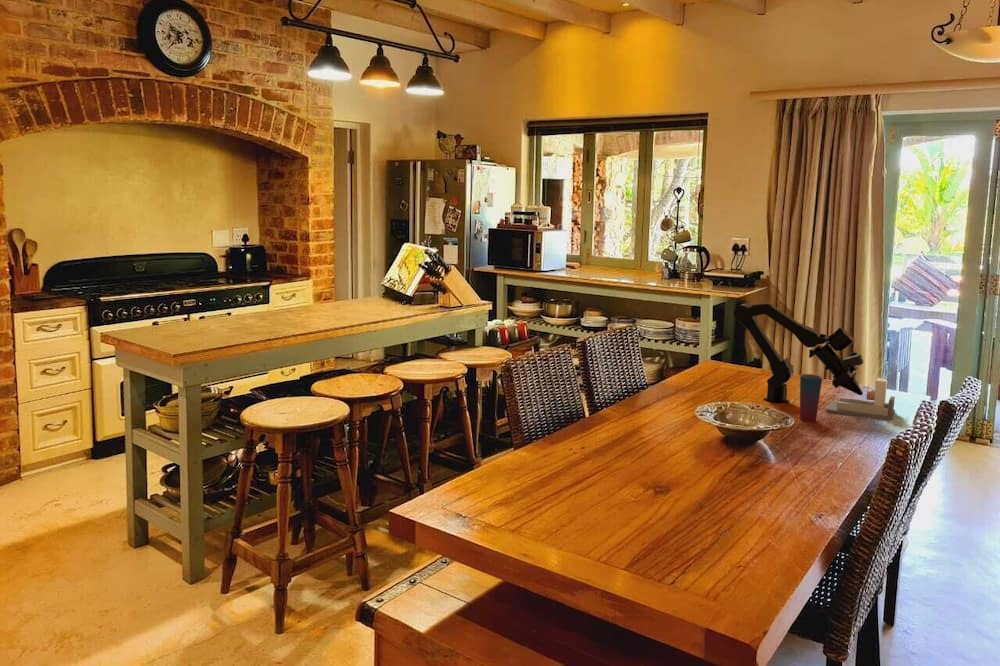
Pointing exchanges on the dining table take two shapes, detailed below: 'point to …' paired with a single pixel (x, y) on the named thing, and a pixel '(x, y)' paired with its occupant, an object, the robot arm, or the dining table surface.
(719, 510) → the dining table surface
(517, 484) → the dining table surface
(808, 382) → the cup
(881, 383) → the plug
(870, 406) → the station
